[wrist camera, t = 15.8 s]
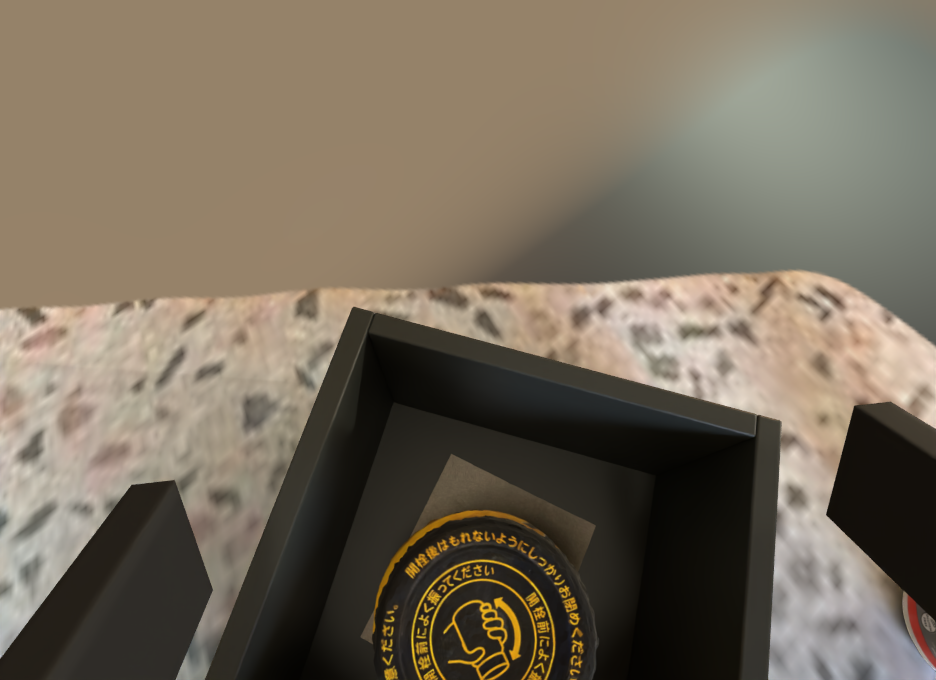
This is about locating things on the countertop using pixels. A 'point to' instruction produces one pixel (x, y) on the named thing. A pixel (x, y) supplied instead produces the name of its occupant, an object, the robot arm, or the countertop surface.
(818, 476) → the countertop surface
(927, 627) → the pill bottle
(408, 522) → the waste bin
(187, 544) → the robot arm
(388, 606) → the condiment
